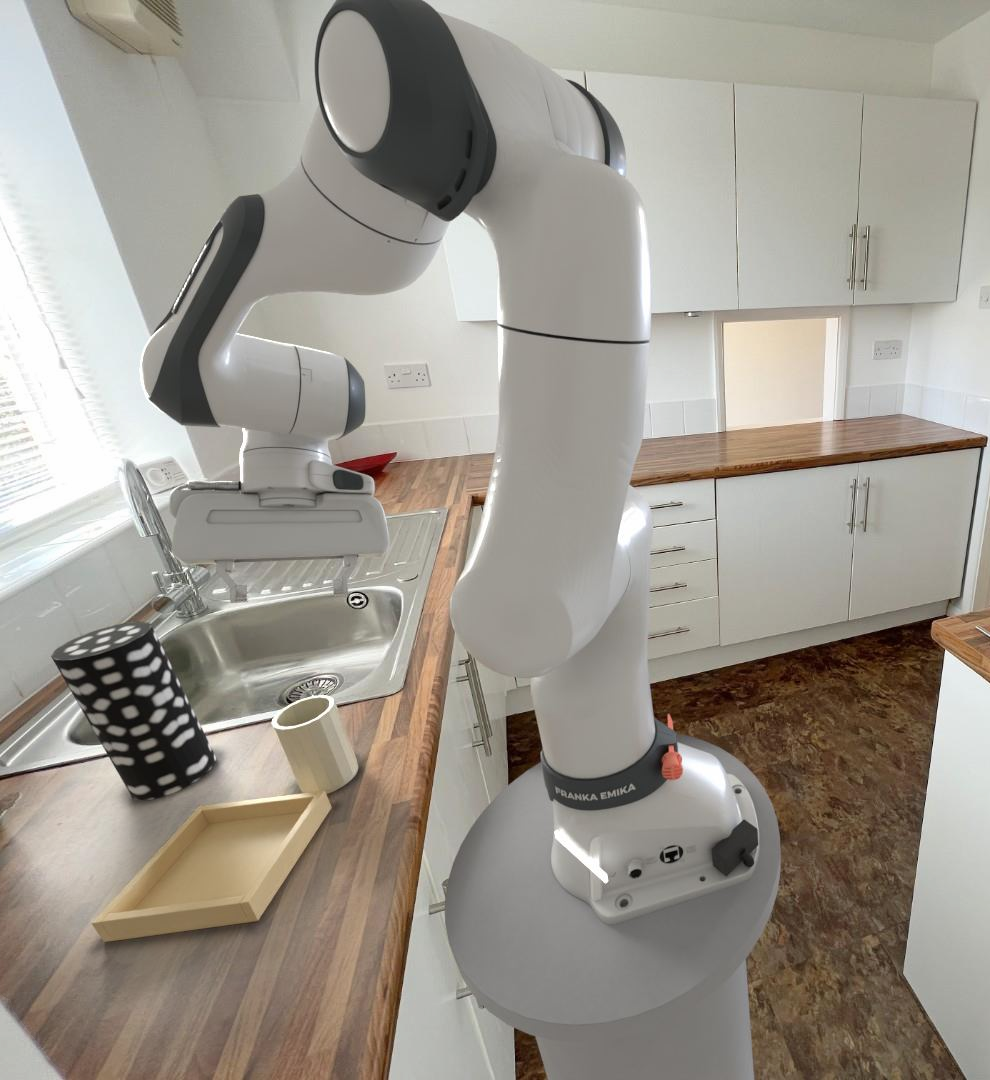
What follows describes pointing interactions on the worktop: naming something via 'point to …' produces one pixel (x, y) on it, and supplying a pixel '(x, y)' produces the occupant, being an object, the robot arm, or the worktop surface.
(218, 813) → the tray
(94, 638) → the spotted tube
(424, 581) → the worktop surface
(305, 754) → the cup
